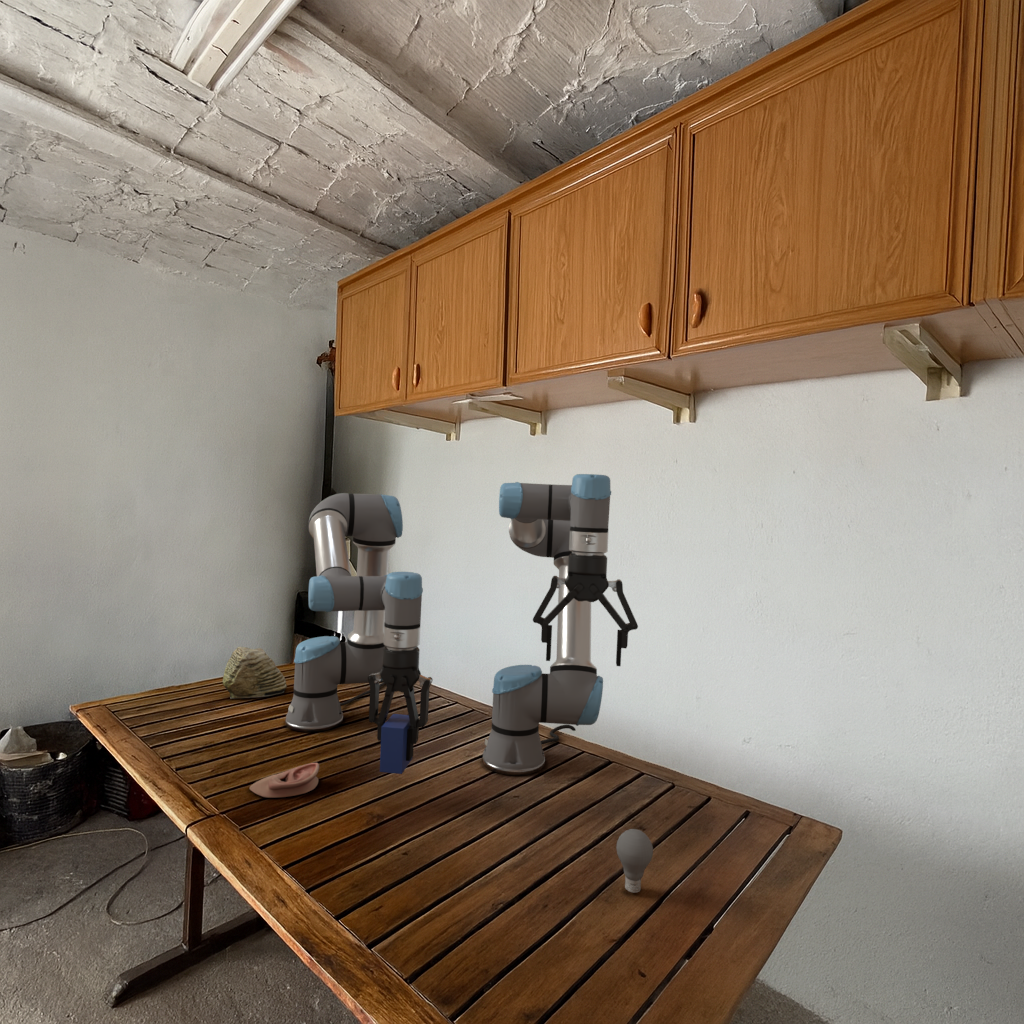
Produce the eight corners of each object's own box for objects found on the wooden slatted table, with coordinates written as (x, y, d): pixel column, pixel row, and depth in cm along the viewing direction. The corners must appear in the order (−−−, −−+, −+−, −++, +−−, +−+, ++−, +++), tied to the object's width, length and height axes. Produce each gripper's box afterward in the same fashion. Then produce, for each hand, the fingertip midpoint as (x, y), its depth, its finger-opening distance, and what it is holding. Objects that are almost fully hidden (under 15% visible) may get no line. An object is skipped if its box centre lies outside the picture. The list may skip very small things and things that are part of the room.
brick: (379, 772, 129) (381, 726, 129) (391, 756, 137) (393, 713, 137) (401, 774, 129) (403, 728, 128) (412, 758, 136) (414, 715, 136)
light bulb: (610, 879, 108) (613, 822, 108) (644, 879, 109) (647, 822, 109) (619, 902, 102) (622, 840, 102) (655, 901, 103) (658, 840, 103)
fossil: (218, 695, 195) (220, 647, 195) (278, 685, 208) (279, 640, 207) (228, 703, 189) (230, 653, 188) (289, 692, 201) (290, 645, 201)
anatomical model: (241, 775, 133) (272, 754, 144) (240, 794, 133) (272, 771, 144) (299, 783, 130) (326, 761, 142) (298, 802, 130) (325, 779, 142)
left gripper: (354, 647, 130) (349, 760, 130) (438, 654, 128) (433, 768, 128) (366, 639, 137) (362, 746, 138) (447, 645, 135) (442, 753, 136)
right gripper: (522, 551, 121) (517, 661, 122) (655, 558, 118) (649, 671, 118) (526, 548, 129) (521, 652, 129) (651, 555, 126) (646, 661, 126)
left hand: (396, 756), depth 133 cm, fingers closed on brick, 5 cm apart
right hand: (583, 662), depth 124 cm, fingers open, 13 cm apart
